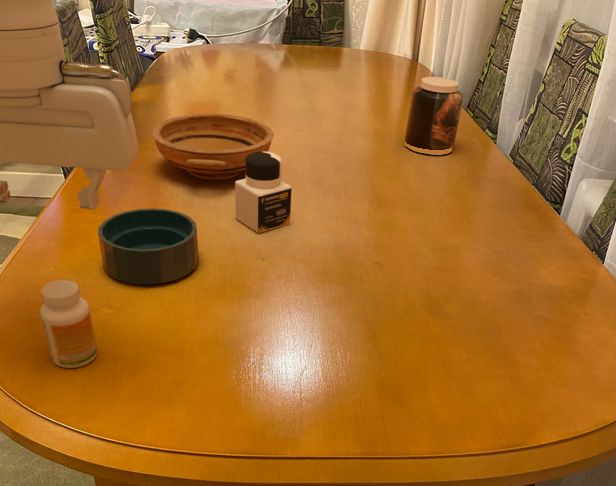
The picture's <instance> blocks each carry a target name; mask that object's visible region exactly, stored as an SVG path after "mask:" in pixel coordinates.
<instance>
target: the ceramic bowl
mask: <svg viewBox="0 0 616 486" xmlns="http://www.w3.org/2000/svg"><path fill="white" fill-rule="evenodd" d="M151 136H152V138H153V139H154V142H155V146H156V148H157V150H158V152H159V153H160V154H161V155H162V157H163V158H164V159H165V160H166V161H167V162H168V163H170V164H171V165H173V166H175V167H178V168H181V169H183V170H185V171H187V172H188V173H189V174H190V175H192V176H193V177H196V178H200V179H204V180H227V179H232V178H235V177H237V176H239V175H240V174H241V173H242V172H243V171H244V170H245V171H246V160H245V159H246V157H247V156H248V155H249V154H251V153H254V152H260V151H265V152H269V151H270V148H271V144H272V140H273V139H274V132H273V130H272V129H271V128H270V127H269V126H268V125H267V124H265V123H263V122H260V121H258V120H255V119H252V118H248V117H244V116H241V115H235V114H225V113H196V114H194V113H193V114H187V115H180V116H176V117H172V118H167V119H166V120H163V121H161V122H159V123H157V124H156V125H155V126H154V127H153V128H152V130H151Z"/></svg>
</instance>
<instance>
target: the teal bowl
mask: <svg viewBox="0 0 616 486" xmlns="http://www.w3.org/2000/svg"><path fill="white" fill-rule="evenodd" d="M97 236H98V237H97V238H98V242H99V249H100V254H101V260H102V265H103V268H104V270H105V272H106V273H107V274H108V275H109V276H111V277H113V278H114V279H116V280H118V281H121V282H125V283H129V284H136V285H137V284H138V285H155V284H156V285H157V284H164V283H168V282H172V281H173V282H174V281H176V280H178V279H181V278H183V277H185V276H187V275H189V274H190V273H191V272H192V271H194V270H195V269H196V268H197V265H198V264H199V261H200V259H199V257H200V256H199V242H198V241H199V240H198V227H197V223H196V222H195V220H193V218H192V217H190V216H189V215H187V214H185V213H182V212H179V211H176V210H171V209H166V208H151V207H150V208H138V209H137V208H136V209H133V210H132V209H131V210H127V211H126V210H125V211H122V212H120V213H117V214H114V215H112V216H109V218H107V219H105V220H103V222H102V223H101V224H100V225H99V227H98V231H97Z"/></svg>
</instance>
